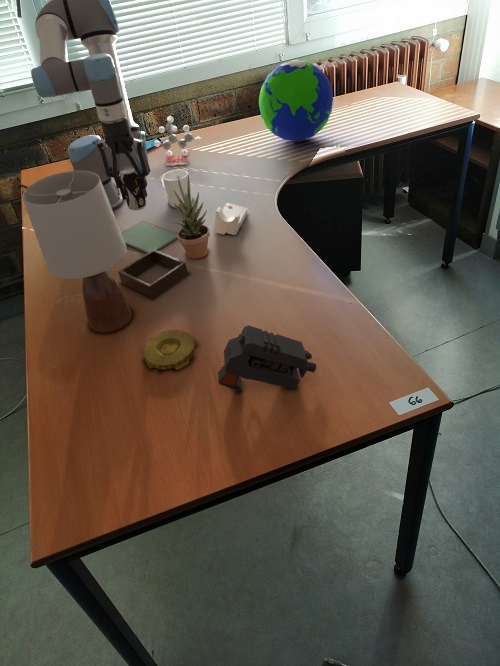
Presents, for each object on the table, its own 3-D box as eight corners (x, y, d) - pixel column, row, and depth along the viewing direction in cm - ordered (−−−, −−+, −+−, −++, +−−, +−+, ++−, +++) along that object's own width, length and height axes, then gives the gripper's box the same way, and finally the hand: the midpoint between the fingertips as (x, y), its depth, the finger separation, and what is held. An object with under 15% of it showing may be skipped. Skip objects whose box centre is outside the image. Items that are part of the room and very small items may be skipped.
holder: (121, 283, 143) (117, 271, 141) (156, 260, 151) (153, 249, 148) (152, 298, 136) (149, 286, 134) (188, 274, 143) (185, 262, 141)
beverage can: (137, 213, 151) (127, 175, 143) (124, 209, 154) (114, 171, 146) (151, 205, 155) (141, 167, 147) (138, 201, 157) (128, 164, 150)
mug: (197, 198, 179) (192, 170, 173) (185, 209, 174) (179, 181, 167) (172, 195, 184) (165, 167, 177) (158, 206, 178) (152, 178, 171)
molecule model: (154, 173, 207) (143, 140, 194) (159, 149, 216) (149, 116, 203) (201, 170, 205) (193, 136, 192) (205, 146, 213) (198, 112, 200)
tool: (211, 370, 109) (238, 319, 100) (290, 389, 115) (321, 343, 107) (212, 390, 104) (240, 339, 96) (294, 410, 111) (327, 363, 102)
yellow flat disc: (187, 373, 113) (186, 366, 112) (138, 370, 116) (135, 363, 114) (200, 337, 122) (199, 330, 121) (154, 335, 124) (152, 328, 123)
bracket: (234, 238, 158) (238, 217, 152) (213, 231, 158) (216, 211, 153) (246, 217, 167) (249, 197, 162) (225, 211, 168) (228, 191, 162)
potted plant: (199, 241, 157) (184, 164, 140) (219, 251, 151) (206, 172, 135) (174, 255, 152) (155, 178, 136) (193, 266, 146) (177, 186, 130)
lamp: (86, 299, 139) (35, 172, 115) (152, 295, 137) (114, 164, 113) (66, 345, 125) (2, 211, 101) (138, 341, 123) (92, 203, 99)
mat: (114, 239, 163) (114, 237, 163) (142, 223, 170) (142, 221, 169) (150, 254, 154) (150, 253, 153) (178, 237, 160) (178, 235, 160)
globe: (304, 121, 227) (302, 47, 207) (348, 138, 206) (349, 57, 187) (248, 140, 217) (240, 64, 197) (288, 160, 196) (283, 77, 177)
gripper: (76, 125, 136) (102, 203, 151) (140, 122, 133) (160, 202, 148) (88, 115, 142) (111, 192, 157) (150, 112, 138) (167, 191, 153)
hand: (135, 197), depth 152 cm, fingers closed on beverage can, 6 cm apart
